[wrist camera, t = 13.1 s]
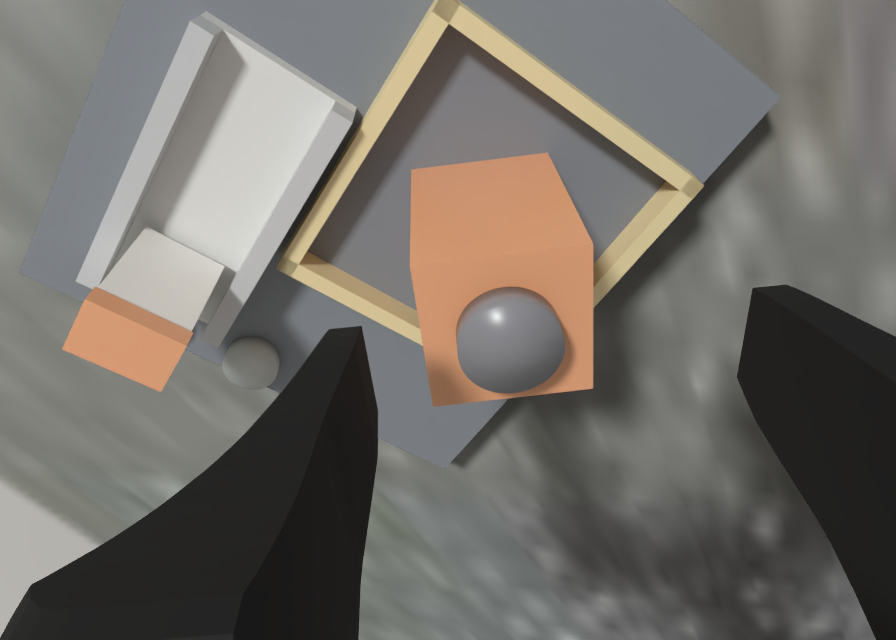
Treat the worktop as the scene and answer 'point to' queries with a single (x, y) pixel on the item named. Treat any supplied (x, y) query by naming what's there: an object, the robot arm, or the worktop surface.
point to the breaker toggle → (145, 310)
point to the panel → (374, 159)
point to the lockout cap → (501, 280)
